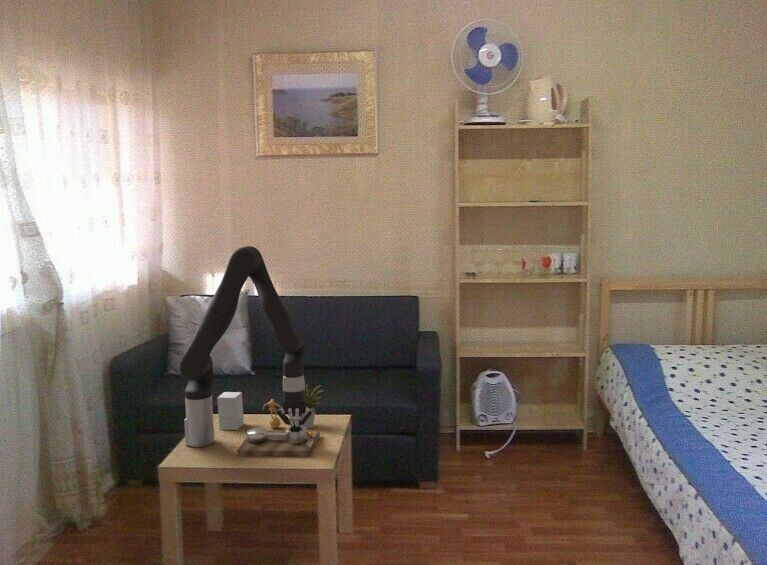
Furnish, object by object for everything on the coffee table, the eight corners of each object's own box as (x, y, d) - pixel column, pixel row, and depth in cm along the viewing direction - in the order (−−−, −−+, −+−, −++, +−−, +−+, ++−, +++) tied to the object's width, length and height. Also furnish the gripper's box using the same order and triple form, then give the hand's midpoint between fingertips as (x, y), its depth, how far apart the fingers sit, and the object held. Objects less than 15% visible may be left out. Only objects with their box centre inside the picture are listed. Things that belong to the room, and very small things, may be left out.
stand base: (237, 455, 241) (236, 446, 240) (252, 435, 259) (251, 427, 259) (310, 456, 239) (309, 447, 238) (319, 436, 257) (319, 427, 257)
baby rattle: (244, 442, 246) (244, 431, 246) (250, 435, 253) (249, 424, 253) (311, 444, 244) (311, 433, 243) (315, 436, 251) (315, 426, 250)
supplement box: (244, 423, 273) (242, 391, 271) (237, 430, 266) (235, 397, 264) (226, 423, 274) (224, 391, 272) (218, 429, 267) (216, 397, 265)
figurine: (287, 426, 268) (286, 396, 267) (282, 432, 263) (281, 400, 261) (266, 425, 270) (265, 395, 268) (261, 431, 264) (259, 400, 262)
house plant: (334, 421, 273) (332, 380, 271) (321, 434, 260) (320, 391, 257) (299, 419, 277) (298, 378, 274) (285, 431, 264) (283, 388, 261)
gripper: (272, 390, 241) (274, 439, 244) (310, 391, 240) (312, 440, 243) (277, 384, 249) (279, 431, 251) (314, 384, 248) (316, 432, 250)
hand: (295, 435), depth 247 cm, fingers closed
